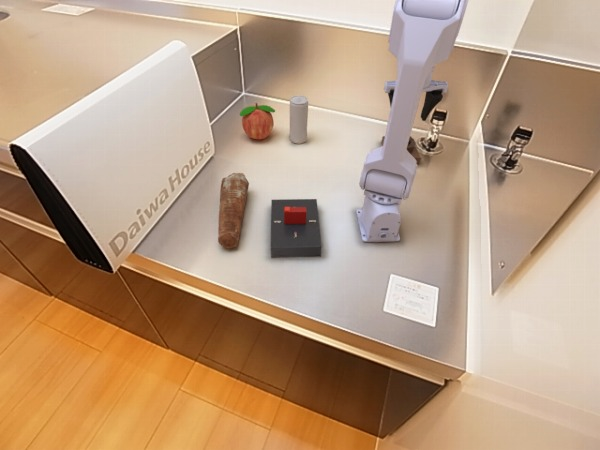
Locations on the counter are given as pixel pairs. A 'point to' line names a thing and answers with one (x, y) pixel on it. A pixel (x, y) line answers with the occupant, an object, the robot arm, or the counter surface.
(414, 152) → the button block
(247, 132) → the fruit
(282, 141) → the counter surface
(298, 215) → the toaster knob
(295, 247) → the panel
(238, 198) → the bread
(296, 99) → the beverage can
